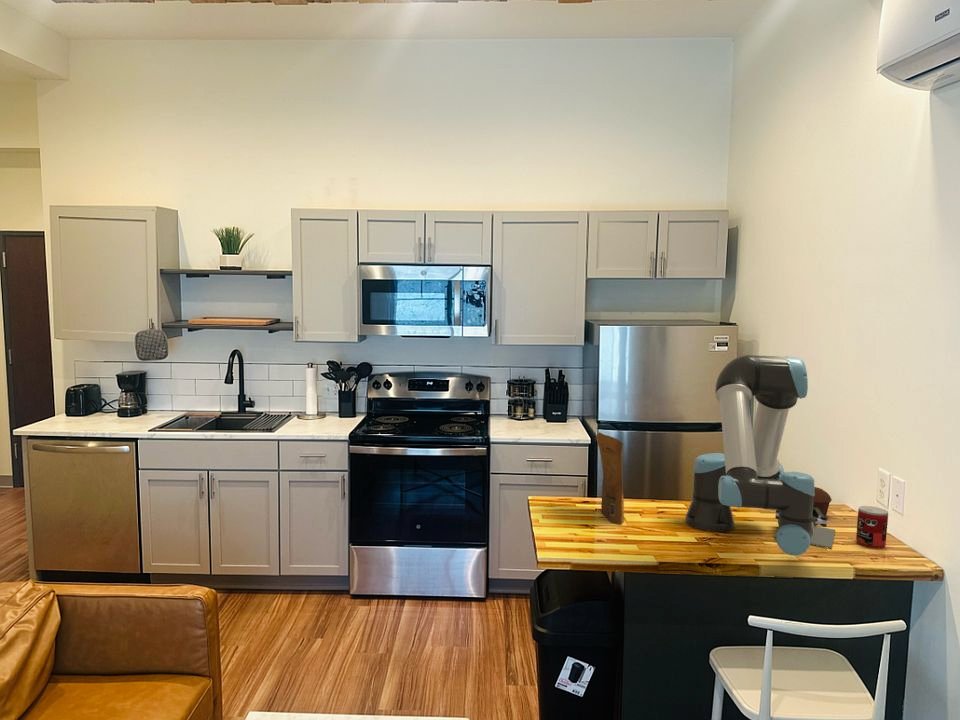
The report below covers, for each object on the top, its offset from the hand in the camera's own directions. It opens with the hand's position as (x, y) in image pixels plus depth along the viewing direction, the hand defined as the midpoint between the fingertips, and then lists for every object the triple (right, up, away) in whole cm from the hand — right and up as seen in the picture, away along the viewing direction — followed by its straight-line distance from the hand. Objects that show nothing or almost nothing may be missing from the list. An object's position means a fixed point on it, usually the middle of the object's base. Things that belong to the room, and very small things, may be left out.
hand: (805, 503), depth 195 cm
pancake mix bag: (-51, -11, +30) cm, 61 cm away
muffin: (+20, -13, +38) cm, 45 cm away
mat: (+8, -14, +18) cm, 24 cm away
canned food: (+25, -15, +11) cm, 31 cm away
